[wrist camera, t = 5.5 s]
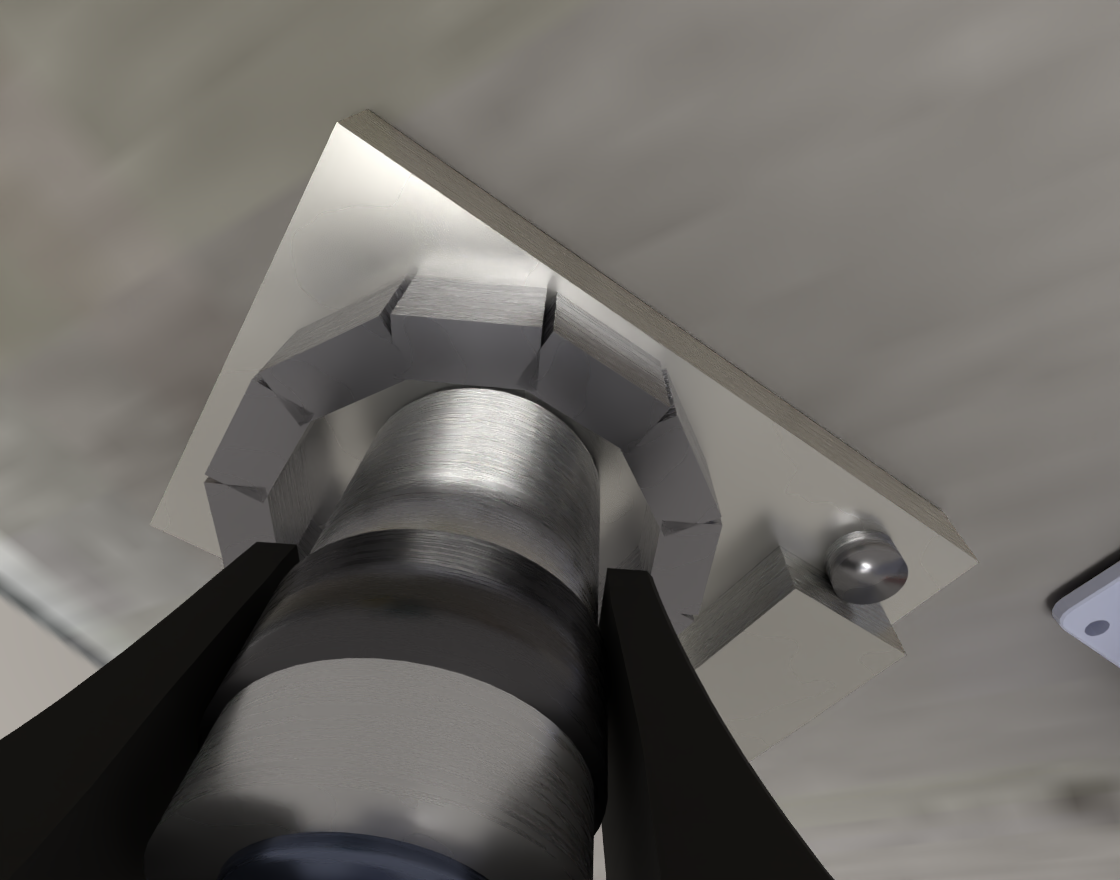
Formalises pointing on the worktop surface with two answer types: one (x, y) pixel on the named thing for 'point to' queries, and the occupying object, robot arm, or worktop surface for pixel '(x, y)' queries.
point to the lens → (419, 673)
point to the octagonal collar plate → (579, 401)
